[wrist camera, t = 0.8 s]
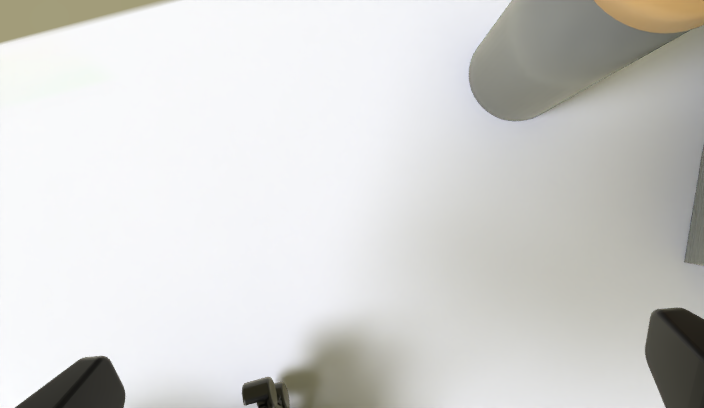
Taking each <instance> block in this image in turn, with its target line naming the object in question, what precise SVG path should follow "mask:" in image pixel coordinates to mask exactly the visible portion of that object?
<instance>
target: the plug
mask: <svg viewBox="0 0 704 408" xmlns="http://www.w3.org/2000/svg"><path fill="white" fill-rule="evenodd" d="M702 25H704V0H512V1H511V2H510V4H509V5H508V6H507V8H506V9H505V11H504V12H503V13H502V15H501V16H500V17H499V19H498V20H497V22H496V23H495V24H494V26H493V27H492V28H491V30H490V31H489V33H488V34H487V35H486V37H485V38H484V39H483V41H482V42H481V44H480V45H479V46H478V48H477V49H476V51H475V53H474V54H473V56H472V59H471V62H470V67H469V82H470V87H471V90H472V92H473V95H474V97H475V98H476V100H477V101H478V103H479V104H480V105H481V106H482V107H483V108H484V109H485V110H486V111H487V112H489V113H490V114H492V115H494V116H495V117H498V118H500V119H503V120H508V121H523V120H528V119H531V118H534V117H536V116H538V115H540V114H542V113H544V112H545V111H547V110H549V109H551V108H553V107H554V106H556V105H558V104H560V103H561V102H563V101H565V100H567V99H569V98H570V97H572V96H574V95H576V94H577V93H579V92H581V91H583V90H585V89H586V88H588V87H590V86H592V85H593V84H595V83H597V82H599V81H601V80H602V79H604V78H606V77H608V76H610V75H611V74H613V73H615V72H617V71H618V70H620V69H622V68H624V67H626V66H627V65H629V64H631V63H633V62H634V61H636V60H638V59H640V58H642V57H643V56H645V55H647V54H649V53H650V52H652V51H654V50H656V49H658V48H659V47H661V46H663V45H665V44H666V43H668V42H670V41H672V40H674V39H675V38H677V37H679V36H681V35H682V34H684V33H686V32H688V31H690V30H691V29H694V28H698V27H700V26H702Z"/></svg>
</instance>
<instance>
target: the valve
mask: <svg viewBox="0 0 704 408" xmlns="http://www.w3.org/2000/svg"><path fill="white" fill-rule="evenodd" d="M242 396H243V402H244V405H249V404H252V403H256V402H257V405H258V408H289V406H290V402H289V395H288V391H287V388H286V385H285V383H284V382H278V383H274V382H273V380H272V378H271V377H265V378H261V379H258V380H254V381H250V382H247V383H244V384H243V387H242Z"/></svg>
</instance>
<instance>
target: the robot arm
mask: <svg viewBox="0 0 704 408" xmlns="http://www.w3.org/2000/svg"><path fill="white" fill-rule="evenodd" d="M645 355H646V360H647V363H648V366H649V368H650V371H651V373H652V376H653V378H654V380H655V383H656V385H657V388H658V390H659V393H660V395H661V397H662V400H663V402H664V405H665V407H666V408H704V319H702V318H700V317H699V316H697V315H695V314H693V313H691V312H690V311H688V310H686V309H683V308H667V309H657V310H655V311H653V313H652V314H651V317H650V322H649V328H648V334H647V339H646V345H645ZM124 403H125V390H124V387H123V385H122V383H121V381H120V379H119V377H118V375H117V373H116V371H115V369H114V367H113V365H112V363H111V361H110V359H108V358H107V357H105V356H95V357H85V358H82V359H80V360H78V361H77V362H75V363H74V364H73V365H71V366H70V367H69V368H67V369H66V370H65V371H63V372H62V373H61V374H59V375H58V376H57V377H55V378H54V379H53V380H51V381H50V382H49V383H47V384H46V385H45V386H43V387H42V388H41V389H39V390H38V391H37V392H35V393H34V394H32V395H31V396H30V397H28V398H27V399H26V400H24V401H23V402H22V403H20V404H19V405H18V406H16V407H15V408H123V407H124Z"/></svg>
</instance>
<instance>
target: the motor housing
mask: <svg viewBox="0 0 704 408" xmlns="http://www.w3.org/2000/svg"><path fill="white" fill-rule="evenodd" d="M684 262H685V263H691V264H696V265H701V266H704V146H703V152H702V158H701V164H700V171H699V177H698V183H697V189H696V195H695V201H694V207H693V213H692V219H691V225H690V231H689V237H688V243H687V249H686V255H685V261H684Z"/></svg>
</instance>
